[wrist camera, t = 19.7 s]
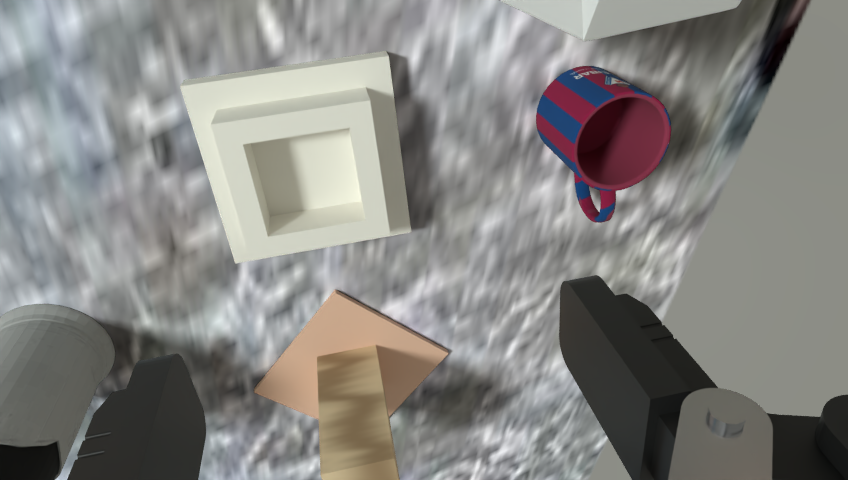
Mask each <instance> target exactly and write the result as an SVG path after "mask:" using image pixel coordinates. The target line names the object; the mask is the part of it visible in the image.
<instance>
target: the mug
mask: <svg viewBox="0 0 848 480" xmlns="http://www.w3.org/2000/svg"><path fill="white" fill-rule="evenodd" d="M536 124H537V129H538V133H539V135H540V137H541V139H542V140H543V142H544V143H545V144H546V145H547V146H548V147H549V148H550V149H551V150H552V151H553V152H554V153H555V154H556V155H557V156H558V157H559V158H560V159H561V160H562V161H563V162H564V163H565V164H566V165H567V166H568V167H569V168H570V169H571V170H572V171H573V172H574V177H575V187H576V193H577V198H578V201H579V204H580V206H581V208H582V210H583V212H584V213H585V215H586V216H587V217H588V218H589V219H590V220H591V221H593V222H600V223H601V222H605V221H609V220H610V219H611V218H612V215H613V213H614V209H615V202H616V191H617V190H622V189H625V188H628V187H631V186H633V185H635V184H637V183H639V182H640V181H642V180H643V179H644V178H646V177H647V176H648V175H649V174H650V173H651V172H653V171H654V169H655V168H656V167H657V166H658V164H659V163H660V162H661V160H662V158H663V157H664V155H665V153H666V150H667V148H668V145H669V141H670V136H671V122H670V118H669V115H668V112H667V110H666V108H665V107H664V105H663V104H662V103H661V102H660V101H659V100H658V99H656V98H655V97H654V96H652V95H650V94H648V93H647V92H645V91H643V90H641V89H639V88H637V87H635V86H634V85H632V84H630V83H628V82H626V81H624V80H623V79H621V78H619V77H617V76H615V75H613V74H611V73H610V72H608V71H606V70H604V69H601V68H599V67H594V66H582V67H576V68H574V69H571V70H568V71H566V72H565V73H563V74H561V75H560V76H559V77H557V78H556V79H555V80H554V81H553V82H552V83H551V84H550V85H549V86H548V87H547V89H546V90H545V92H544V93H543V95H542V97H541V99H540V102H539V105H538V108H537V114H536ZM589 186H591V187H592V188H595V189H598V190H600V196H601V209H600V213H599V212H598V210H597V209H596V208H595V206H594V204H593V201H592V198H591V195H590V190H589Z"/></svg>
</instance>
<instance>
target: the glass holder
mask: <svg viewBox="0 0 848 480" xmlns="http://www.w3.org/2000/svg"><path fill="white" fill-rule="evenodd" d="M114 361H115V350H114V345H113V342H112V340H111V338H110V336H109V335H108V333H107V332H106V330H105V329H104V328H103V327H102V326H101V325H100V324H99V323H97V322H96V321H95V320H93V319H92V318H91V317H89V316H87V315H85V314H83V313H82V312H79V311H77V310H74V309H71V308H68V307H64V306H60V305H52V304H34V305H27V306H22V307H19V308H16V309H13V310H11V311H9V312H7V313H5V314H4V315H3V316H1V317H0V480H55V479H56V478H57V477H58V476H59V475H60V473H61V471H62V468H63V466H64V464H65V461H66V459H67V457H68V454H69V452H70V450H71V447H72V445H73V443H74V440H75V438H76V436H77V433H78V431H79V429H80V426H81V424H82V422H83V419H84V417H85V414H86V412H87V410H88V407H89V405H90V403H91V400H92V398H93V396H94V393H95V391H96V389H97V386H98V384H99V383H100V382H101V381H102V380H103V379H104V378H105V377H106V376H107V375H108V374H109V372H110V370H111V369H112V367H113V364H114Z"/></svg>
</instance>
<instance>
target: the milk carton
mask: <svg viewBox="0 0 848 480" xmlns="http://www.w3.org/2000/svg"><path fill="white" fill-rule="evenodd" d="M500 1H502V2H504V3H506V4H508V5H510V6H512V7H514V8H516V9H518V10H520V11H522V12H525V13H527V14H529V15H531V16H533V17H535V18H537V19H539V20H541V21H543V22H545V23H547V24H550V25H552V26H554V27H556V28H558V29H560V30H562V31H564V32H566V33H568V34H570V35H572V36H575V37H577V38H579V39H581V40H583V41H591V40H595V39H600V38H605V37H609V36H614V35H618V34H623V33H627V32H632V31H636V30H641V29H645V28H650V27H654V26H659V25H664V24H668V23H673V22H677V21H682V20H686V19H691V18H695V17H700V16H704V15H709V14H713V13H718V12H722V11H726V10H730V9H734V8H736V7H737V6H738V5H739V4H740V2H741V1H742V0H500Z"/></svg>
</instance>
